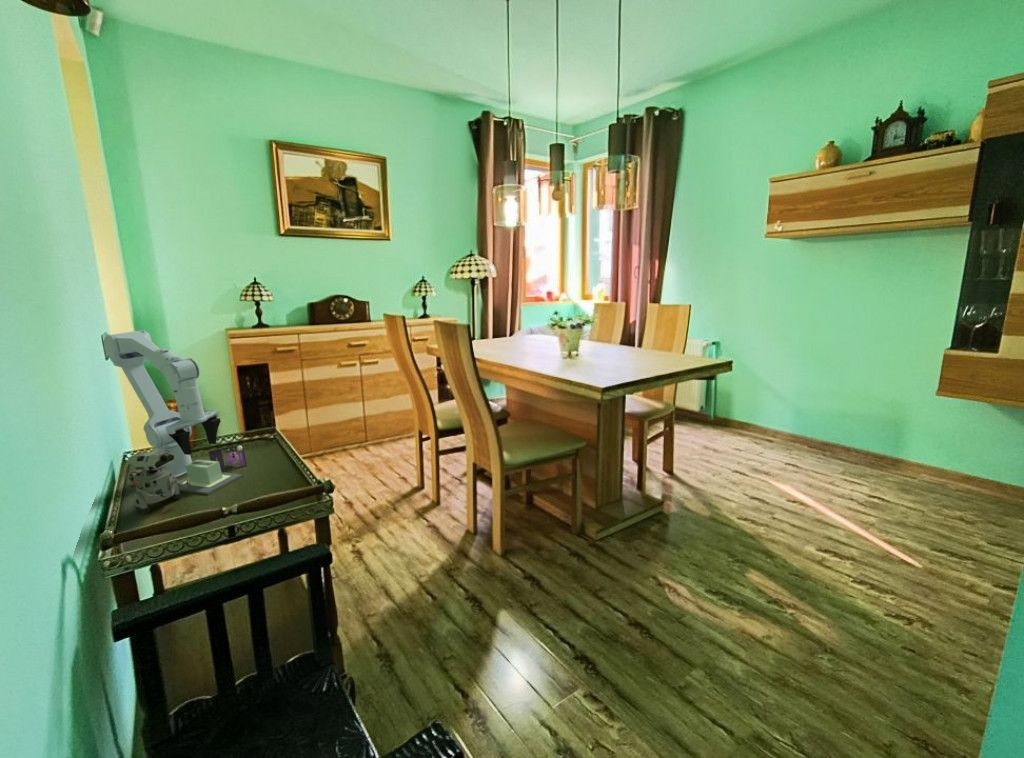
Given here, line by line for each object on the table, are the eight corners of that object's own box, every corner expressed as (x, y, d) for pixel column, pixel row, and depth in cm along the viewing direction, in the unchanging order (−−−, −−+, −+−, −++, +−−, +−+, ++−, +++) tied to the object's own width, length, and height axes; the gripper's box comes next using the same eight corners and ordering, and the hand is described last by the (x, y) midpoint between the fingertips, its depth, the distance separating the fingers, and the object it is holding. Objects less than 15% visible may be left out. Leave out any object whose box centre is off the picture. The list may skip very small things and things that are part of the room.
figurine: (156, 519, 116) (140, 462, 112) (133, 510, 121) (116, 456, 117) (195, 501, 124) (181, 448, 120) (171, 494, 129) (157, 442, 125)
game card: (208, 451, 140) (242, 444, 144) (210, 451, 145) (244, 444, 149) (212, 473, 140) (246, 465, 144) (214, 473, 145) (248, 465, 148)
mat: (165, 489, 132) (165, 487, 132) (201, 472, 142) (201, 469, 142) (208, 494, 127) (207, 492, 127) (242, 476, 137) (242, 474, 137)
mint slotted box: (210, 484, 132) (206, 467, 130) (189, 481, 134) (184, 465, 133) (222, 477, 135) (218, 461, 134) (202, 475, 138) (198, 459, 137)
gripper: (174, 412, 123) (186, 460, 127) (223, 396, 137) (233, 440, 140) (155, 411, 126) (168, 458, 129) (205, 395, 139) (215, 438, 142)
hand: (200, 448), depth 135 cm, fingers open, 7 cm apart
